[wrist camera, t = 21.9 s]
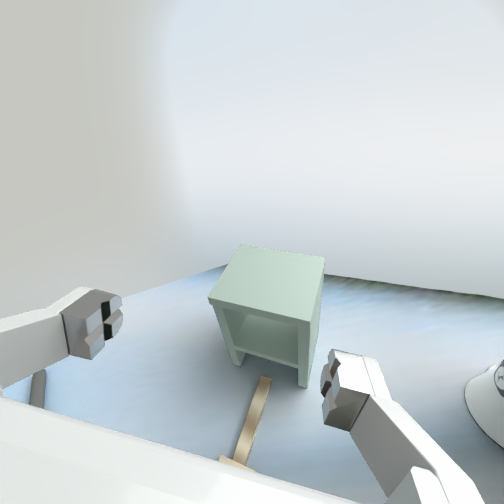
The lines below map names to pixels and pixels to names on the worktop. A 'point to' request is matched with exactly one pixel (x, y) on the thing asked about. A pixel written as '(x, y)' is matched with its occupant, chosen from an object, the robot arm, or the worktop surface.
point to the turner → (250, 426)
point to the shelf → (271, 306)
